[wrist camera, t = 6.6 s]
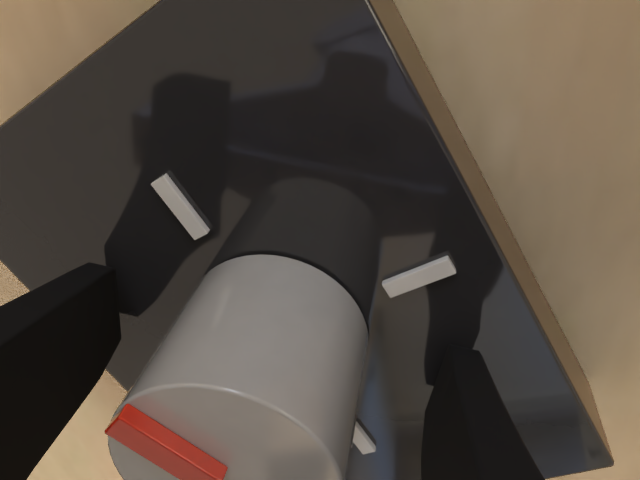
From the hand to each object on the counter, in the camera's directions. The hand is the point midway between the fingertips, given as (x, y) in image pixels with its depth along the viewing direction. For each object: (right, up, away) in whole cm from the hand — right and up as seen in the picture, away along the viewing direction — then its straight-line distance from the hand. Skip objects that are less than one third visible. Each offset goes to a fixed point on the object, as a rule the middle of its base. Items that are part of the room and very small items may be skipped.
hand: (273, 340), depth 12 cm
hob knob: (0, 0, 0) cm, 0 cm away
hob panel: (+1, +1, +2) cm, 3 cm away
